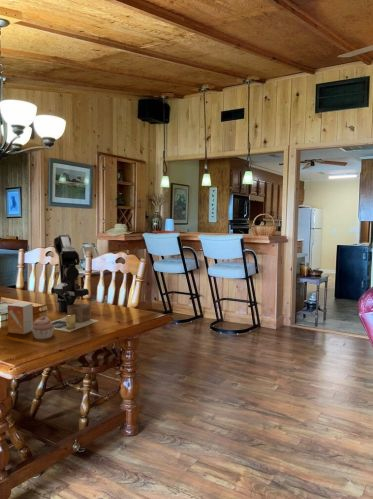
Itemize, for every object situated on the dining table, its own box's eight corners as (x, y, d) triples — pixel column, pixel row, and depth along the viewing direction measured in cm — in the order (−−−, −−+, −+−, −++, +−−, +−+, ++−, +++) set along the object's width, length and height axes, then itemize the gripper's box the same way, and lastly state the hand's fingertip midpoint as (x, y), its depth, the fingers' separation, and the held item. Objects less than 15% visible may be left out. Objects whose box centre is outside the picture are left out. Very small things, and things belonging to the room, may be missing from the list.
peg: (64, 328, 180) (63, 315, 179) (70, 326, 183) (70, 313, 183) (71, 330, 178) (70, 316, 178) (77, 327, 182) (77, 314, 181)
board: (38, 328, 184) (38, 317, 183) (69, 318, 202) (69, 307, 201) (69, 334, 176) (69, 322, 175) (99, 323, 194) (98, 312, 193)
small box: (7, 335, 174) (6, 304, 173) (18, 330, 180) (17, 301, 179) (23, 337, 172) (22, 306, 171) (33, 332, 178) (32, 303, 177)
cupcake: (32, 344, 163) (31, 319, 162) (30, 337, 172) (30, 313, 171) (56, 341, 167) (56, 317, 166) (54, 334, 175) (53, 311, 174)
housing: (67, 320, 192) (67, 305, 192) (77, 316, 199) (77, 302, 198) (81, 322, 189) (80, 307, 188) (90, 318, 195) (90, 304, 195)
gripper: (41, 277, 191) (42, 310, 193) (72, 280, 183) (73, 315, 184) (59, 274, 201) (59, 305, 203) (89, 277, 193) (89, 309, 194)
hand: (70, 308), depth 196 cm, fingers closed
